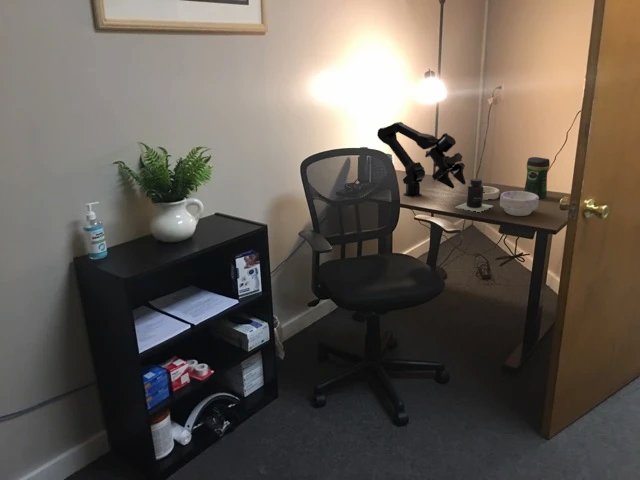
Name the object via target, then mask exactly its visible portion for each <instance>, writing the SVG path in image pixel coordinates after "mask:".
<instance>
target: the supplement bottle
mask: <svg viewBox="0 0 640 480" xmlns="http://www.w3.org/2000/svg"><path fill="white" fill-rule="evenodd" d="M483 186H484V185H483V179H481V178H471V179H470V183H469V185H468V186H467V191H466V192H467V193H466V202H467V203H466V202H465V203H466V205H467V206H468V207H471V208H480V207H481V206H482V204H483V201H484V200H483V191H484V188H483Z"/></svg>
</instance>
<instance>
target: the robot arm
mask: <svg viewBox="0 0 640 480" xmlns="http://www.w3.org/2000/svg"><path fill="white" fill-rule="evenodd" d="M397 133H399V134H401V135H402V136H404V137H406V138H408V139H410V140H412V141H414V142H415V143H416V145H417V146H418V147H419V148H421V149H422V150H426V151H425V154H424V155H425V156H424V157H425V158H430V159H431V160H432V161H433V163H434V164H433V165H434V167H437V168H438V169H437V170H436V171H434V172H433V174H432V179H433V180H434V181H437V182H439V183H442V184H443V185H445V186H447V187H448V188H451V189H455V185H454V183H453V181H452V180H451V178H450V176H449V175H450V174H451V175H452V177H454V178H455V179H456V180H457V181H458V182H459V183H460V184H462V185H466V179H465V177H464V173H463V172H464V170H465V166H466V165H465V164H464V162H463V160H462V159H463V155H462V154H461V153H460V152H456V153H454V154H453V156H448V155H446V154H445V153H448V152H449V151H450V150H451V149H452V148H453V147H454V146H455V145H456V142H457V141H456V139H455V138H454V137H453V136H451V135H450V134H448V133H443V134H442V135H441V137H440V138H436V136H434V135H432V134H429V133H423V132H419V131H418V130H416V129H414V128H413V127H411V126H409V125H406V124H405V123H403V122H402V121H398V122H393V124H392V123H391V124H390V125H388V126H385V127H380V128H379V129H378V130H377V138H378V139H379V140H380V141H381V142H382V143H383V144H385V145H387V146H388V147H389V148H390V149H391V151H392V152H393V154H395V156H396V157H397V159H398V160H399V161H400V164H402V165H403V167H404V170H405V175H406V176H405V177H403V179H402V181H403V184H405V193H403V195H404V196H407V197H411V198H413V197H418V196H422V193H421V192H420V190H421V185H420V183H421V182H423V180H424V178H425V175H426V171H425V167H423V165H422V164H421V162H419V161H417V162H415V161H414V160H413V159H412V158H411V156H410V155H409V154H408V152H407V151H406V150H405V148H404V146H402V145H401V143H400V142H399V140H398V139H397V138H398V137H397Z"/></svg>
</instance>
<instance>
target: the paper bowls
mask: <svg viewBox="0 0 640 480" xmlns="http://www.w3.org/2000/svg"><path fill="white" fill-rule="evenodd" d="M499 197H500V200H499V206H500V207H501V208H503V210H504V212H505V213H506V214H508V215H511V216H515V217H525V216H526V217H527V216H529V215H530V214H532V212H533V211H535V210H537V209H538V208H539V201H540V198H539V197H538V195H536V194H533V193H530V192H524V190H523V191H522V190H510V191H504V192H502V193H500V195H499Z"/></svg>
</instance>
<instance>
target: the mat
mask: <svg viewBox="0 0 640 480" xmlns="http://www.w3.org/2000/svg"><path fill="white" fill-rule="evenodd" d="M466 203H467V201H466V202H464V203H461V204H459V205H456V206H454V209H459V210H463V209H464V211H468V210H470V211H469V212H473V211H476V212H475V213H477V212H480V213H482V212H481V211H483V212H484V210H485V211H487V210H489V208H490V209H493V208H494V205H493V204H492V205H491V204H486V203H482V206H481V207H480V208H471V207H468V206H467V205H466Z"/></svg>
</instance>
